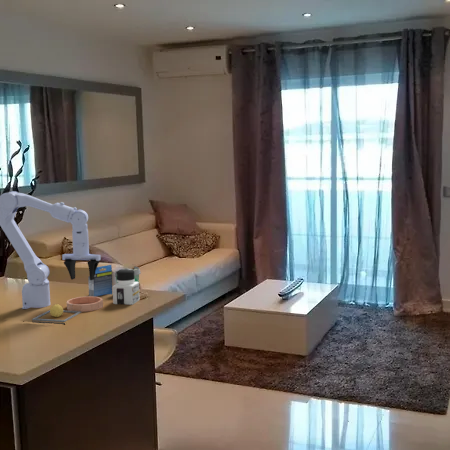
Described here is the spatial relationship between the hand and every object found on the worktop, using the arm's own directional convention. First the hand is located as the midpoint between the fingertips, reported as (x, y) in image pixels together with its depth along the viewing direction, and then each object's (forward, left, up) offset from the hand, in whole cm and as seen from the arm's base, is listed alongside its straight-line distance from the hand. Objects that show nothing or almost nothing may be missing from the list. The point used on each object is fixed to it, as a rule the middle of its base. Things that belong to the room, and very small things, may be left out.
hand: (82, 279), depth 226 cm
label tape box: (0, +15, -10) cm, 18 cm away
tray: (-1, -18, -10) cm, 21 cm away
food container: (+11, +20, -10) cm, 25 cm away
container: (+15, +5, -10) cm, 19 cm away
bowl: (+3, -5, -10) cm, 11 cm away
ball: (-1, -18, -9) cm, 20 cm away
